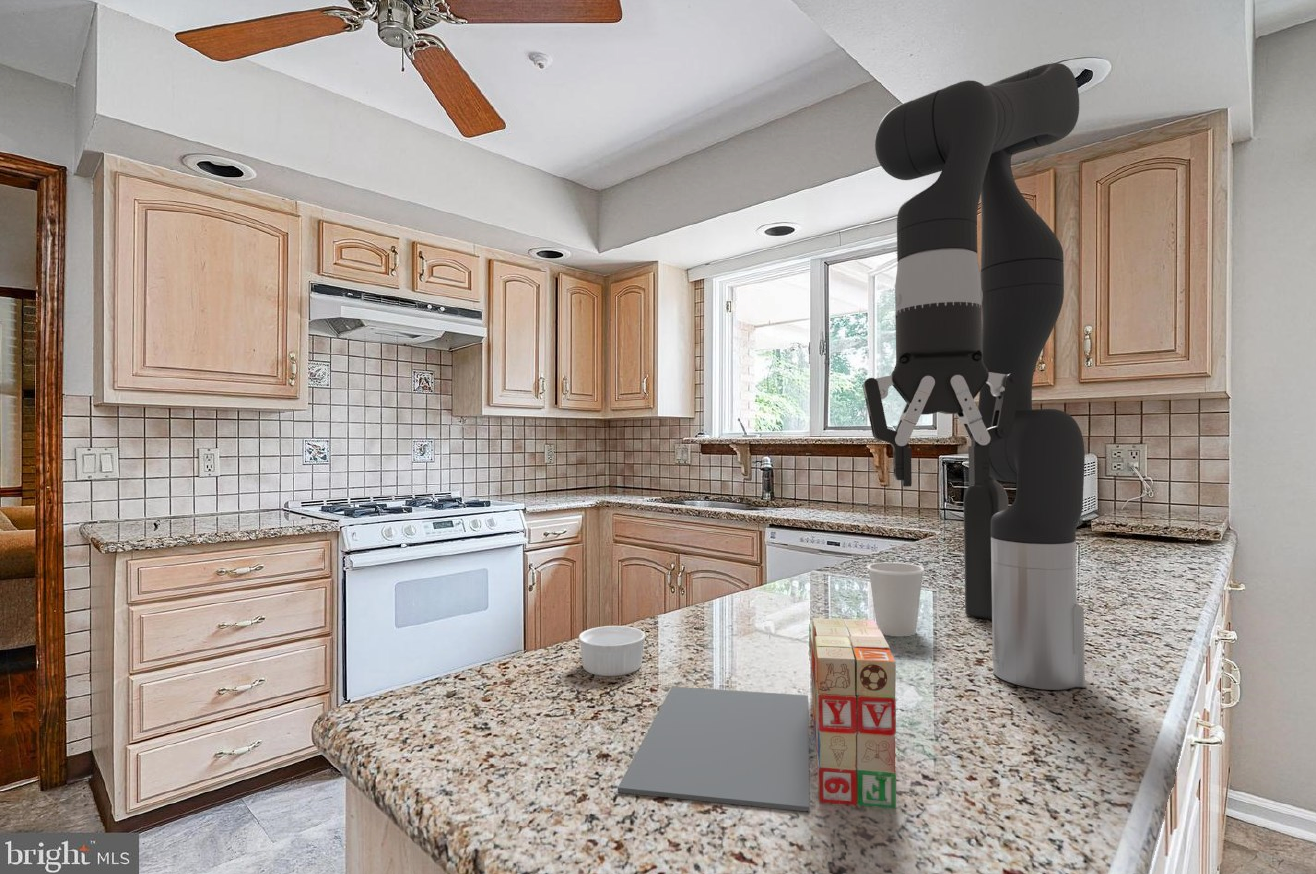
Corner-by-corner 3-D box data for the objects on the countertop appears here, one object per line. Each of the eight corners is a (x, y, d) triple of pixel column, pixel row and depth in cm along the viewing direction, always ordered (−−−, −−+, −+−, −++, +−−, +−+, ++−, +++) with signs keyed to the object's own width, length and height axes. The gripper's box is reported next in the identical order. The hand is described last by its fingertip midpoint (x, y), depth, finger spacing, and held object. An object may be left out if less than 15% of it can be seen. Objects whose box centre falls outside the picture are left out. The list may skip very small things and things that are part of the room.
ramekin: (659, 666, 90) (658, 633, 90) (610, 684, 83) (610, 649, 83) (613, 652, 96) (613, 622, 96) (565, 668, 90) (565, 635, 90)
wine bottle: (1012, 616, 112) (1009, 436, 112) (998, 622, 108) (994, 436, 108) (977, 610, 116) (975, 436, 116) (962, 616, 112) (959, 436, 113)
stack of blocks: (810, 704, 76) (808, 595, 76) (867, 707, 75) (865, 597, 75) (818, 804, 55) (816, 655, 55) (898, 811, 54) (896, 658, 54)
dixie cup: (895, 642, 98) (893, 574, 98) (856, 628, 106) (855, 565, 106) (937, 635, 102) (936, 569, 102) (897, 621, 109) (896, 560, 109)
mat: (808, 699, 77) (807, 695, 77) (809, 811, 54) (809, 807, 54) (672, 689, 81) (671, 686, 81) (617, 792, 57) (617, 787, 57)
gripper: (1008, 310, 65) (1011, 483, 65) (855, 317, 69) (857, 483, 68) (1034, 293, 58) (1037, 489, 58) (861, 303, 61) (864, 488, 61)
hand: (940, 485), depth 63 cm, fingers open, 5 cm apart
